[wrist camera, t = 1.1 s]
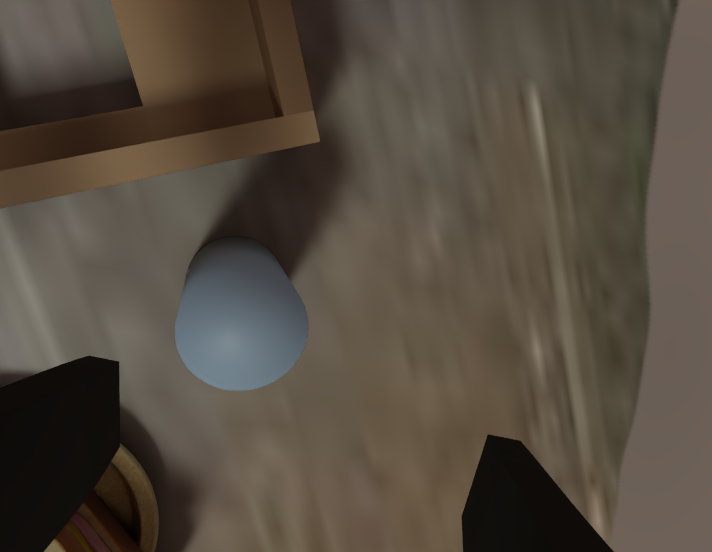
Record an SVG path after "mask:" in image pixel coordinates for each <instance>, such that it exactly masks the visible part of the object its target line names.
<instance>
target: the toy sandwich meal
mask: <svg viewBox="0 0 712 552" xmlns="http://www.w3.org/2000/svg"><path fill="white" fill-rule="evenodd" d="M158 529H159V514H158V506H157V501H156V497H155V494H154V491H153V488H152V485H151V483H150V480H149V478H148V477H147V475H146V473H145V471H144V470H143V468H142V466H141V465H140V463H139V462H138V461H137V460H136V458H135V457H134V456H133V455H132V454H131V453H130V451H129V450H128V449H127V448H125V447H124V446H123V445H122V444H121V443H120V448H119V449H118V451H117V453H116V454H115V456H114V457H113V459H112V461H111V462H110V464H109V466H108V467H107V469H106V471H105V472H104V474H103V475H102V477H101V478H100V480H99V481H98V483H97V484H96V486H95V488H94V489H93V491H92V492H91V494H90V495H89V496H88V498H87V499H86V500H85V502H84V503H83V504H82V505H81V507H80V508H79V509H78V510H77V512H76V513H75V514H74V515H73V517H72V518H71V519H70V520H69V522H68V523H67V524H66V525H65V526H64V528H63V529H62V530H61V531H60V533H59V534H58V535H57V536H56V538H55V539H54V540H53V541H52V543H51V544H50V545H49V546H48V547H47V549H46V550H45V551H44V552H155V548H156V544H157V539H158Z"/></svg>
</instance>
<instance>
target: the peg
mask: <svg viewBox="0 0 712 552" xmlns="http://www.w3.org/2000/svg"><path fill="white" fill-rule="evenodd" d="M307 336H308V317H307V312H306V309H305V306H304V304H303V302H302V300H301V298H300V296H299V295H298V293H297V291H296V290H295V288H294V286H293V285H292V283H291V282H290V280H289V278H288V277H287V275H286V274H285V272H284V270H283V269H282V267H281V266H280V264H279V262H278V261H277V259H276V258H275V256H274V255H273V254H272V252H271V251H270V250H269V249H268V248H266V247H265V246H264V245H262V244H261V243H259V242H257V241H255V240H253V239H250V238H246V237H239V236H230V237H224V238H220V239H217V240H215V241H212V242H210V243H209V244H207V245H205V246H204V247H203V248H202V249H200V250H199V252H198V253H197V254H196V255H195V256H194V258H193V259H192V261H191V263H190V265H189V267H188V270H187V274H186V279H185V283H184V288H183V292H182V297H181V301H180V306H179V310H178V315H177V319H176V325H175V340H176V345H177V349H178V352H179V354H180V357H181V359H182V360H183V362H184V364H185V365H186V366H187V368H188V369H189V370H190V371H191V372H192V373H193V374H194V375H195V376H196V377H198V378H199V379H201V380H202V381H203V382H205V383H207V384H209V385H211V386H214V387H217V388H220V389H225V390H232V391H245V390H252V389H256V388H260V387H263V386H266V385H268V384H270V383H272V382H274V381H276V380H277V379H279V378H280V377H282V376H283V375H284V374H286V373H287V372H288V371H289V370H290V369H291V368H292V367H293V366H294V364H295V363H296V362H297V360H298V359H299V357H300V355H301V354H302V352H303V349H304V347H305V344H306V340H307Z"/></svg>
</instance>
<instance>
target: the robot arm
mask: <svg viewBox="0 0 712 552" xmlns="http://www.w3.org/2000/svg"><path fill="white" fill-rule="evenodd" d="M119 448H120V401H119V362H118V361H113V360H108V359H103V358H98V357H93V356H86V357H83V358H80V359H77V360H74V361H71V362H68V363H65V364H62V365H59V366H57V367H54V368H51V369H48V370H46V371H43V372H40V373H38V374H35V375H33V376H30V377H27V378H25V379H22V380H20V381H17V382H14V383H12V384H9V385H6V386H4V387H1V388H0V552H44V551H45V550H46V549H47V547H48V546H49V545H50V544H51V543H52V541H53V540H54V539H55V538H56V536H57V535H58V534H59V533H60V531H61V530H62V529H63V528H64V526H65V525H66V524H67V523H68V522H69V520H70V519H71V518H72V517H73V515H74V514H75V513H76V512H77V510H78V509H79V508H80V507H81V505H82V504H83V503H84V502H85V500H86V499H87V498H88V496H89V495H90V494H91V492H92V491H93V489H94V488H95V486H96V484H97V483H98V481H99V480H100V478H101V477H102V475H103V474H104V472H105V471H106V469H107V467H108V466H109V464H110V462H111V461H112V459H113V457H114V456H115V454H116V453H117V451H118V449H119ZM462 533H463V552H613V550H612V549H611V548H610V547H609V546H608V545H607V544H606V542H605V541H604V540H603V539H602V538H601V537H600V536H599V534H598V533H597V532H596V531H595V530H594V529H593V527H592V526H591V525H590V524H589V523H588V522H587V520H586V519H585V518H584V517H583V516H582V515H581V513H580V512H579V511H578V510H577V509H576V507H575V506H574V505H573V504H572V503H571V501H570V500H569V499H568V498H567V497H566V495H565V494H564V493H563V492H562V490H561V489H560V488H559V487H558V486H557V484H556V483H555V482H554V481H553V479H552V478H551V477H550V476H549V475H548V473H547V472H546V471H545V470H544V468H543V467H542V466H541V465H540V464H539V462H538V461H537V460H536V459H535V457H534V456H533V455H532V454H531V453H530V452H529V450H528V449H527V448H526V447H525V446H524V445H523V443H522V442H521V441H518V440H513V439H508V438H503V437H498V436H493V435H488V436H487V439H486V442H485V445H484V448H483V452H482V455H481V458H480V461H479V464H478V467H477V470H476V473H475V477H474V480H473V483H472V486H471V489H470V492H469V495H468V498H467V502H466V505H465V508H464V511H463V514H462Z"/></svg>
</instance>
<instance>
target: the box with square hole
mask: <svg viewBox="0 0 712 552" xmlns="http://www.w3.org/2000/svg"><path fill="white" fill-rule="evenodd" d="M110 1H111V4H112V8H113V11H114V14H115V17H116V20H117V24H118V27H119V30H120V33H121V36H122V40H123V43H124V46H125V49H126V53H127V56H128V59H129V62H130V65H131V69H132V72H133V75H134V78H135V81H136V85H137V88H138V91H139V94H140V97H141V101H142V104H143V106H141V107H135V108H129V109H124V110H118V111H112V112H107V113H101V114H95V115H90V116H84V117H78V118H73V119H67V120H61V121H56V122H50V123H44V124H38V125H33V126H27V127H21V128H16V129H10V130H4V131H0V208H4V207H9V206H14V205H19V204H23V203H28V202H33V201H38V200H43V199H47V198H52V197H57V196H62V195H67V194H71V193H76V192H81V191H86V190H91V189H95V188H100V187H105V186H110V185H115V184H119V183H124V182H129V181H134V180H139V179H143V178H148V177H153V176H158V175H163V174H167V173H172V172H177V171H182V170H187V169H191V168H196V167H201V166H206V165H211V164H215V163H220V162H225V161H230V160H235V159H239V158H244V157H249V156H254V155H259V154H263V153H268V152H273V151H278V150H283V149H287V148H292V147H297V146H302V145H307V144H311V143H316V142H320V138H319V133H318V129H317V124H316V119H315V114H314V110H313V105H312V100H311V95H310V90H309V86H308V81H307V76H306V71H305V67H304V62H303V57H302V52H301V48H300V43H299V38H298V33H297V28H296V24H295V19H294V14H293V9H292V5H291V0H110Z"/></svg>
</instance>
